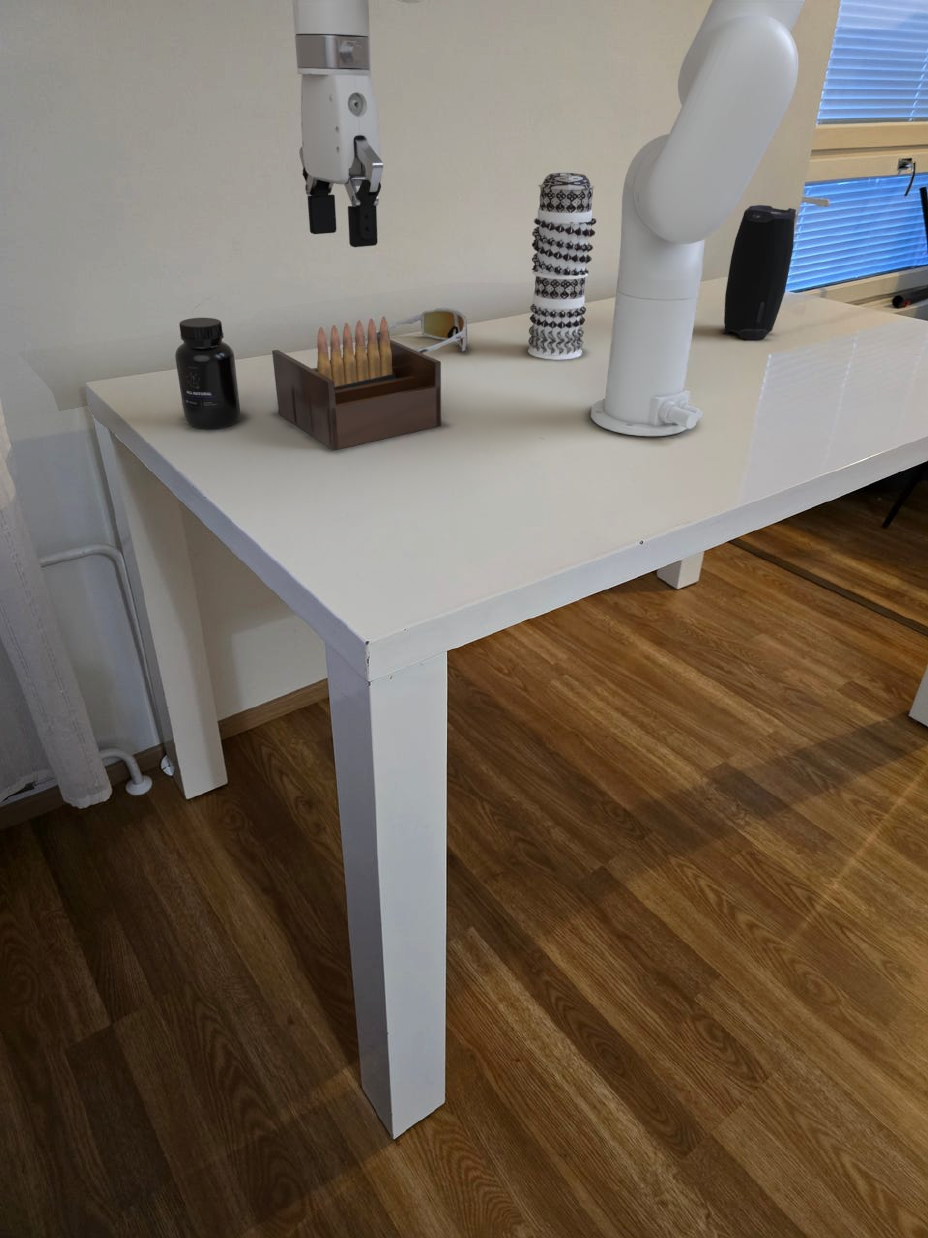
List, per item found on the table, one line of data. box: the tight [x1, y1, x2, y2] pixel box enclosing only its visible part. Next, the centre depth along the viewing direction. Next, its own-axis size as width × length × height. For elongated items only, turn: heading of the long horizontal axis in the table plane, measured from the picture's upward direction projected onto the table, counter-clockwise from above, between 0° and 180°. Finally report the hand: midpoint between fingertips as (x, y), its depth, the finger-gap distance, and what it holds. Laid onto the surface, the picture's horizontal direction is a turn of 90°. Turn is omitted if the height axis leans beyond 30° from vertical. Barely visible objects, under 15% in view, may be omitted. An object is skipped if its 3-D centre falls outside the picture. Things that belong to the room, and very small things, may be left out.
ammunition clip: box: [316, 316, 395, 390], centre depth 103 cm, size 11×2×12 cm, turn 129°
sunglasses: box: [365, 307, 468, 354], centre depth 133 cm, size 14×15×5 cm
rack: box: [271, 334, 442, 451], centre depth 104 cm, size 15×15×8 cm
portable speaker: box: [723, 204, 797, 341], centre depth 139 cm, size 9×9×20 cm
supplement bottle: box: [174, 317, 242, 430], centre depth 102 cm, size 7×7×12 cm
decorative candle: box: [527, 172, 597, 361], centre depth 127 cm, size 9×9×25 cm
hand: (342, 239), depth 96 cm, fingers open, 9 cm apart
